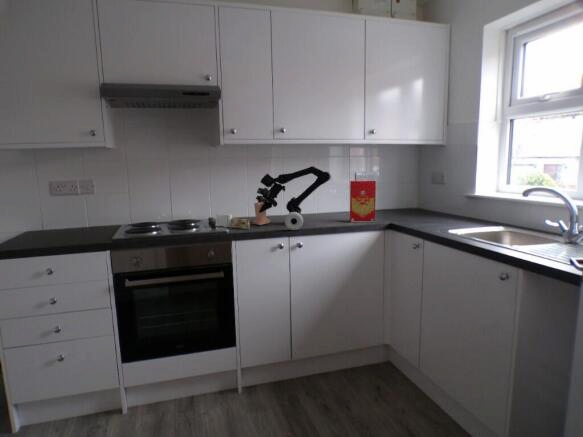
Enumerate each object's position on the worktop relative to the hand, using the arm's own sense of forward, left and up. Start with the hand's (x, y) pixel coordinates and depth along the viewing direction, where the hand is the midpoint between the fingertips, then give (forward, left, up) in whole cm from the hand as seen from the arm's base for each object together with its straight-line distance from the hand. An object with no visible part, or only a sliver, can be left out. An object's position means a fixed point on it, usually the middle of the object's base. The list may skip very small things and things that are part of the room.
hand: (257, 211), depth 216 cm
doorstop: (-3, -1, -7) cm, 7 cm away
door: (+12, +7, -8) cm, 16 cm away
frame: (+19, -1, -8) cm, 21 cm away
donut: (-14, +24, -8) cm, 29 cm away
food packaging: (-63, +11, -8) cm, 65 cm away
